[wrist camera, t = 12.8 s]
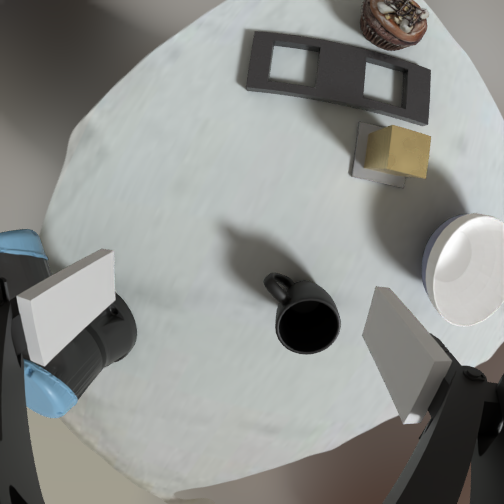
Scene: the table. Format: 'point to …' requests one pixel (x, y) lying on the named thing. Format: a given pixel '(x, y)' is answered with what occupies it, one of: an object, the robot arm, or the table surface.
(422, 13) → the cupcake
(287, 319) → the mug
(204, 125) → the table surface
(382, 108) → the dark grey peg board
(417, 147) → the tan wooden peg
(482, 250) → the bowl
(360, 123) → the pad
